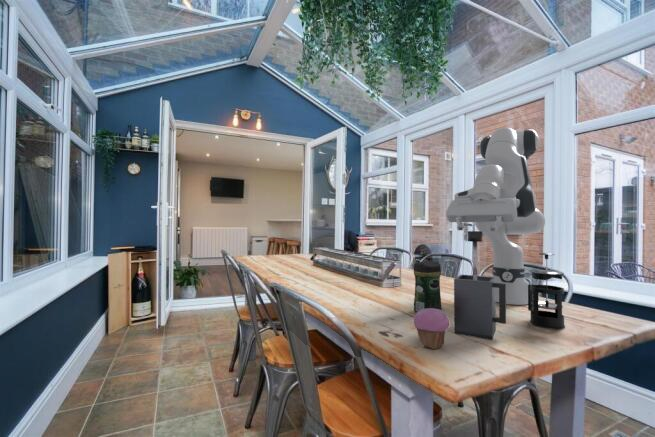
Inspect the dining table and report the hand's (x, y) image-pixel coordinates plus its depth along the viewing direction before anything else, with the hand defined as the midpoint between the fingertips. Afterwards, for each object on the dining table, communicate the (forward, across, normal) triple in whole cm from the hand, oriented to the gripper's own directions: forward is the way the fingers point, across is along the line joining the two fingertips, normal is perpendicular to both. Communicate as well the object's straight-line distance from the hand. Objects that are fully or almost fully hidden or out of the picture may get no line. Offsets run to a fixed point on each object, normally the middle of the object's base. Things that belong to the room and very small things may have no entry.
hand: (475, 229), depth 96 cm
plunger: (+13, 0, -12) cm, 17 cm away
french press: (+6, -15, -38) cm, 41 cm away
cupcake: (+36, +6, -8) cm, 38 cm away
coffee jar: (+14, +20, -30) cm, 38 cm away
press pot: (+22, -1, -22) cm, 31 cm away
